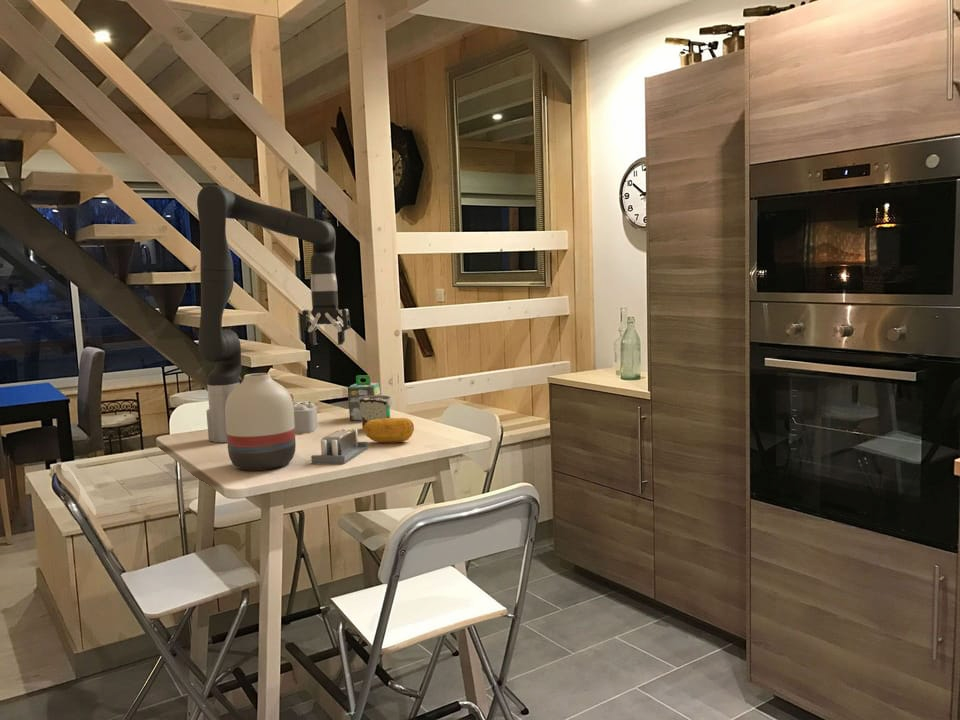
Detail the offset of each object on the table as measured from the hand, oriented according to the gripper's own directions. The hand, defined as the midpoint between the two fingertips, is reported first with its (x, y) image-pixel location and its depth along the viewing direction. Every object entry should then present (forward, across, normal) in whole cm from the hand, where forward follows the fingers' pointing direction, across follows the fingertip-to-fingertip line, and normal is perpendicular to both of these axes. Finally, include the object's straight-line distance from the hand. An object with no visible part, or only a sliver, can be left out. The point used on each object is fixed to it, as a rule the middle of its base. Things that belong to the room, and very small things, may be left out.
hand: (327, 344), depth 229 cm
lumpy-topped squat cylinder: (+28, -15, +11) cm, 34 cm away
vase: (+28, -4, -34) cm, 44 cm away
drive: (+27, +12, -23) cm, 37 cm away
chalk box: (+28, -1, +30) cm, 41 cm away
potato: (+28, +20, -6) cm, 35 cm away
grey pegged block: (+28, +12, -23) cm, 38 cm away
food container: (+28, +10, +14) cm, 33 cm away
